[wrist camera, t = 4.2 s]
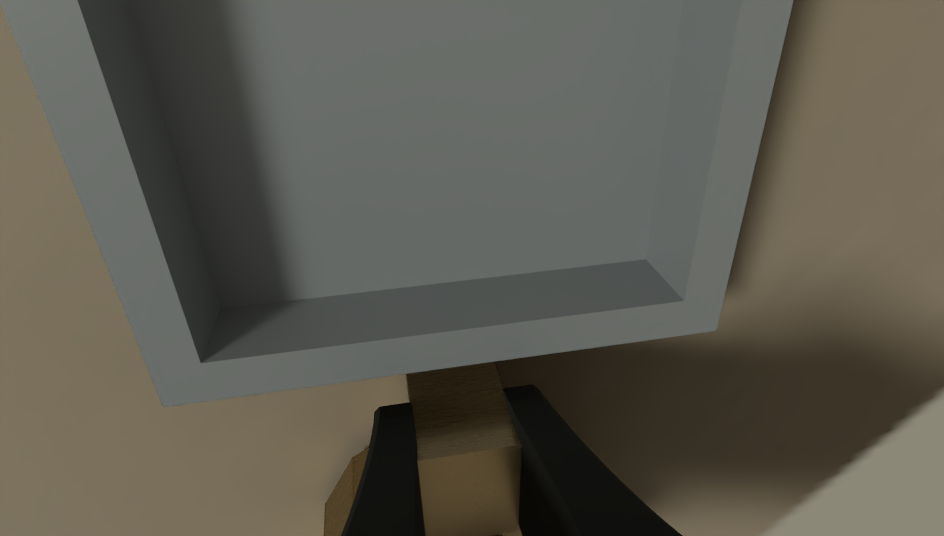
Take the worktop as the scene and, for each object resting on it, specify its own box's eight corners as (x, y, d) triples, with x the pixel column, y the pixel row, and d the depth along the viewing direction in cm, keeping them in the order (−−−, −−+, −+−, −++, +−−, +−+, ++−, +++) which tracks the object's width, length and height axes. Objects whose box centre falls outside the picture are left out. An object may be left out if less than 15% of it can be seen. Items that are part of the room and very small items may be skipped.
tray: (194, 330, 11) (162, 407, 9) (-116, -600, 6) (-352, -869, 4) (662, 273, 13) (716, 330, 11) (793, -516, 7) (952, -681, 5)
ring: (347, 594, 16) (346, 718, 14) (290, 363, 12) (274, 484, 9) (564, 552, 17) (601, 662, 15) (588, 323, 13) (647, 424, 10)
